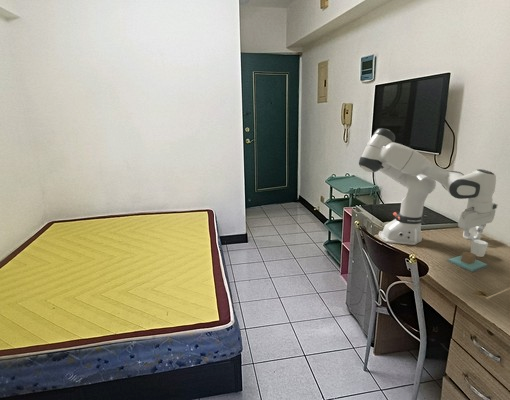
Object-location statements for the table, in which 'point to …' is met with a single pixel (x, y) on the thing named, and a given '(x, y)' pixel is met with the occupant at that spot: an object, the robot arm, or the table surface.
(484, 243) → the shot glass
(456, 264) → the mat
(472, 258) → the lid
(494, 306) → the table surface
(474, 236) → the mug
